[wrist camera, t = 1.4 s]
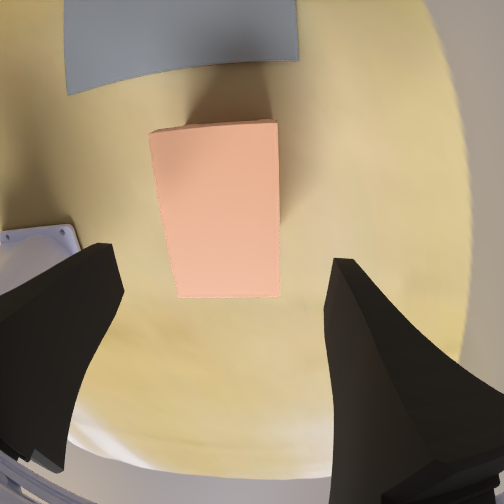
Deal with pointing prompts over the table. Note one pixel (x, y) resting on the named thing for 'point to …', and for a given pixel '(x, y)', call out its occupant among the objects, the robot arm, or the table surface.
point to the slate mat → (171, 36)
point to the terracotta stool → (220, 207)
